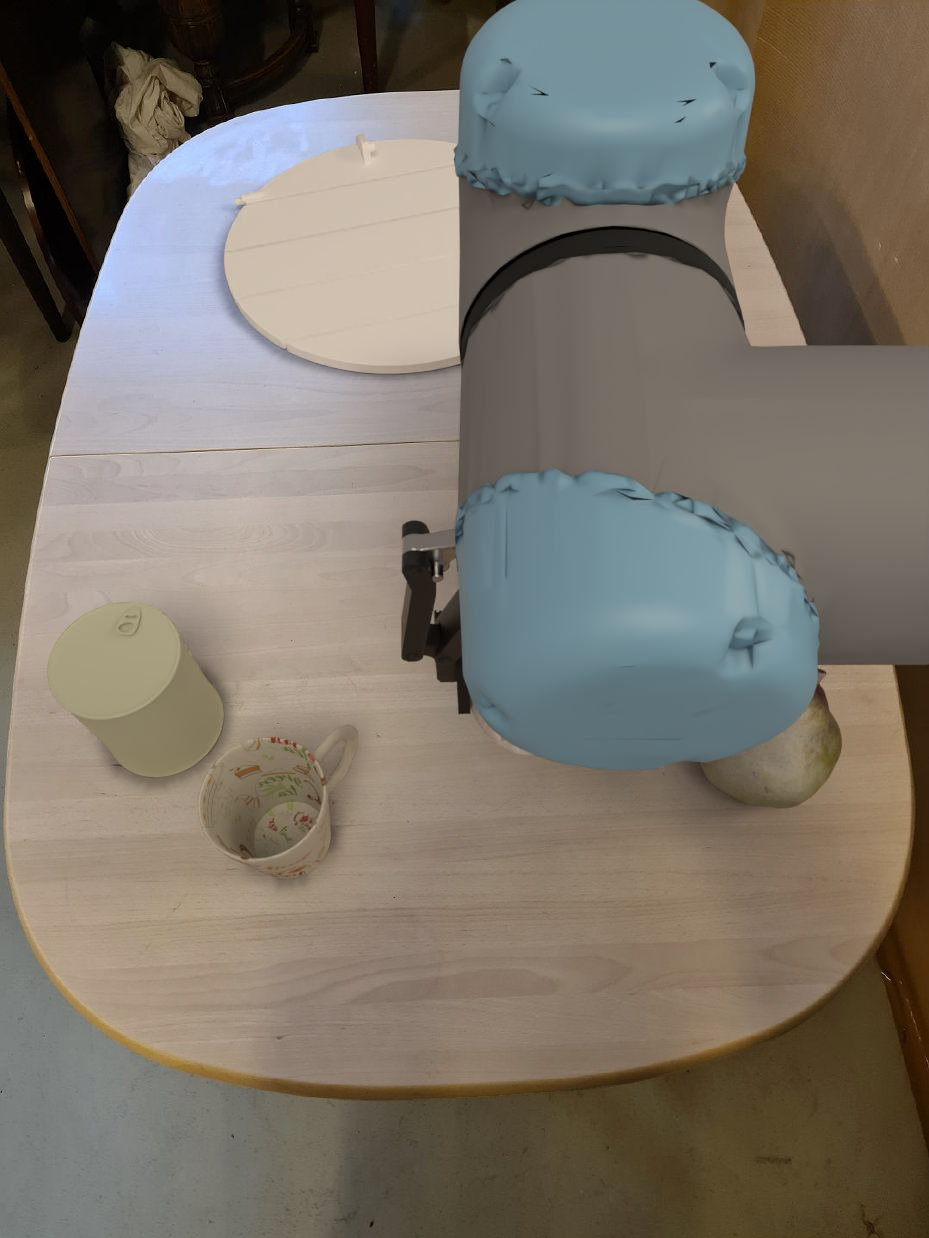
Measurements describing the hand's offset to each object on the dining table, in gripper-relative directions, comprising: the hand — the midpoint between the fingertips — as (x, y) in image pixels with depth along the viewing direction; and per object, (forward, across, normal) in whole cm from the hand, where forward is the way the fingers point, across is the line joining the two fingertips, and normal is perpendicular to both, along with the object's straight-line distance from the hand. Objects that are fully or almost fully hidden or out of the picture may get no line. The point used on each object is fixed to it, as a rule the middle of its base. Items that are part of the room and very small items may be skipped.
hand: (530, 691), depth 54 cm
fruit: (+15, -18, 0) cm, 23 cm away
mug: (+15, +16, +3) cm, 22 cm away
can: (+15, +28, -5) cm, 32 cm away
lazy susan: (+15, +10, -63) cm, 65 cm away
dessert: (0, 0, 0) cm, 0 cm away
